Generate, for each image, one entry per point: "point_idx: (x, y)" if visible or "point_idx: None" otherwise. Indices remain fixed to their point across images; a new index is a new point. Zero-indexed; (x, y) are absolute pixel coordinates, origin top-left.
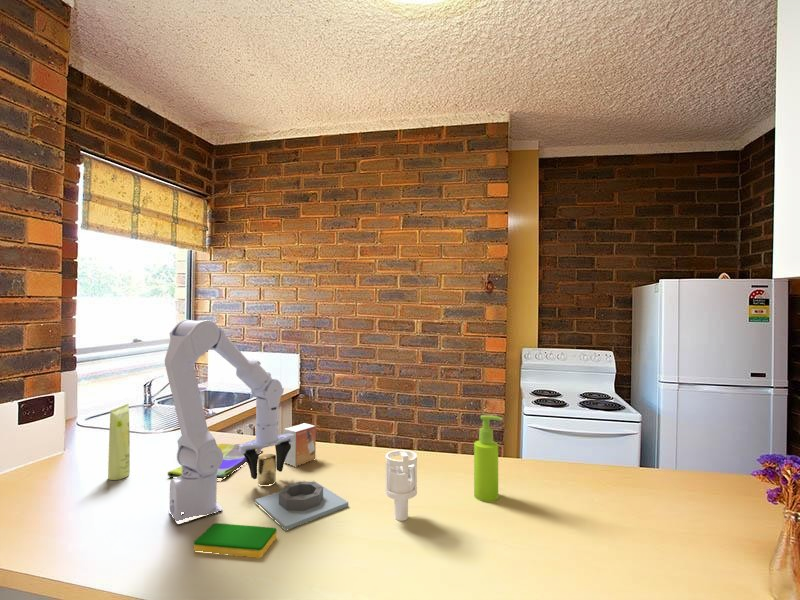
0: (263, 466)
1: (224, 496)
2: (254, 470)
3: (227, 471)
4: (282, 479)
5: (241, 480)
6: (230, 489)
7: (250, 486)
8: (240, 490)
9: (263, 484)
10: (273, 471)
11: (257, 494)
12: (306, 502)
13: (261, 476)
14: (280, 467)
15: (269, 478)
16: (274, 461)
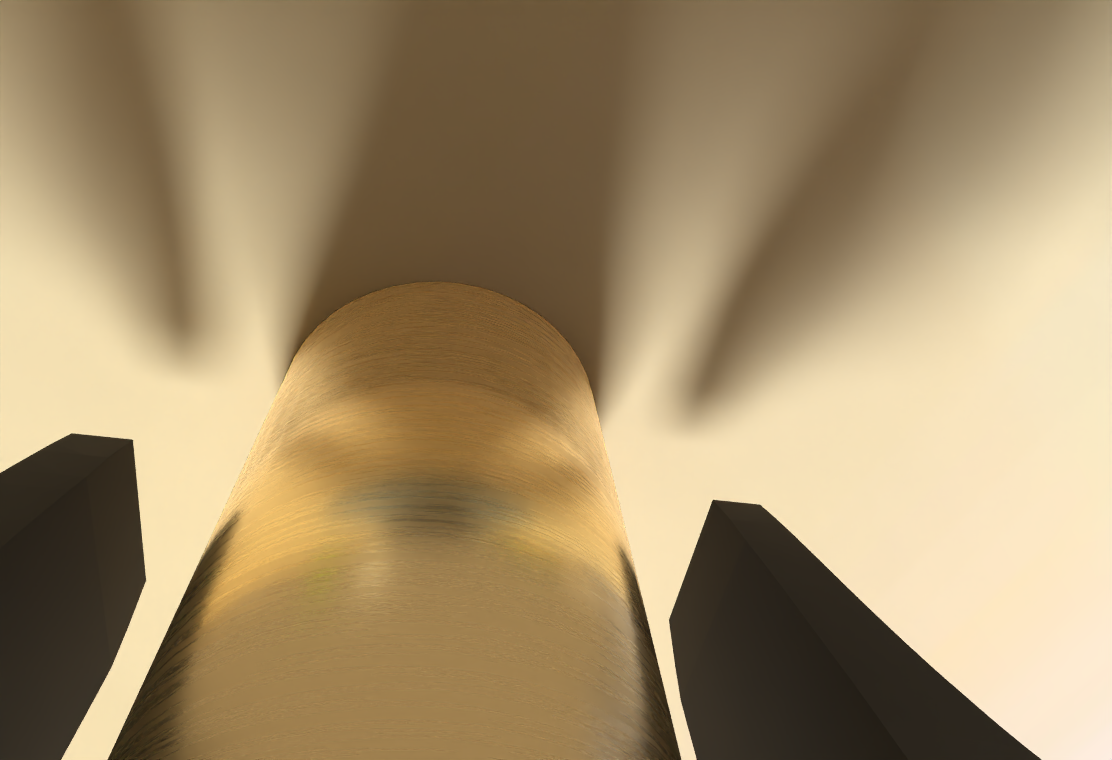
0: (641, 658)
1: (1105, 487)
2: (892, 638)
3: None
4: (130, 357)
5: None
6: (899, 603)
7: (686, 506)
8: (861, 494)
9: (577, 367)
10: (355, 434)
11: (843, 159)
12: None
13: (615, 497)
14: (70, 493)
15: (485, 359)
16: (231, 681)
